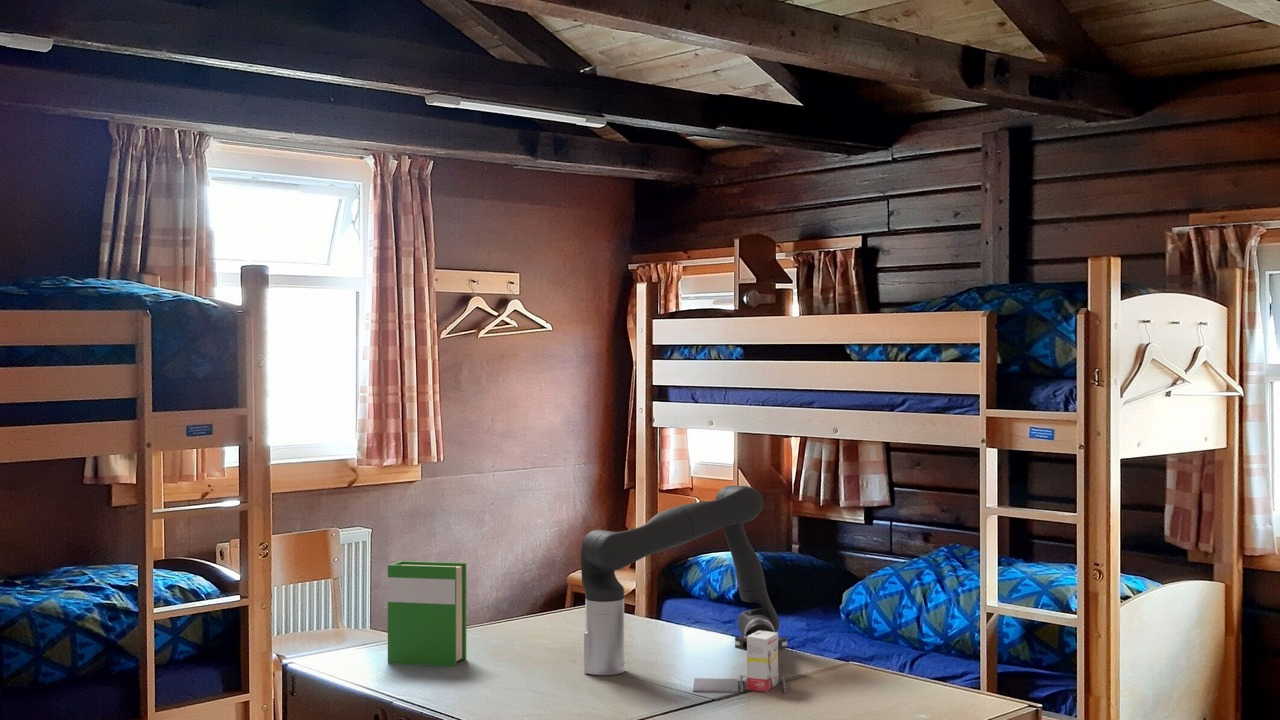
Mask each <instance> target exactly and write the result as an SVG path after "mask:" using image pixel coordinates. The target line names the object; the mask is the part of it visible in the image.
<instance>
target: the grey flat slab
mask: <svg viewBox="0 0 1280 720" xmlns="http://www.w3.org/2000/svg"><path fill="white" fill-rule="evenodd" d="M739 677H740V679H739V678H713V677H712V678H705V677H704V678H703V677H701V678H700V677H695V678H694V680H693V681H694V682H693V688H692V693H730V694H731V693H733V694H734V692H737V694H738V693H739V683H740V693H741V692H743V693H744V681H743V680H744V678H743V675H740V676H739ZM739 680H740V682H739ZM781 682H782V683H783V684H782V688H783V689H784V690H783V694H787V684H786V677H785V675H782V676H781Z"/></svg>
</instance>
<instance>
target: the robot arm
mask: <svg viewBox="0 0 1280 720" xmlns="http://www.w3.org/2000/svg"><path fill="white" fill-rule="evenodd" d="M763 504H764V501H763V496H762V495H761V493H760V492H759V491H758V490H757V489H755V488H753V487H751V486H749V485H748V486H747V485H726V486H723V487H722V488H721V489H719V490H718V491H717V494H716V496H715V499H712V500H707V501H698V502H691V503H685V504H681V505H678V506H674V507H671V508H668V509H666V510H663V511H660V512H658V513H657V514H655V515H654V516H652V517H651V518H650V519H649V520H648V521H647V522H646V523H644V524H643V525H641V526H638V527H636V528H632V529H627V530H624V531H609V530H605V529H603V530H602V529H595V530H592V531H590V532H588V533H587V534H586V535H585V536H584V538H583V541H582V542H581V548H580V571H581V584H582V587H583V590H584V594H585V595H584V597H585V598H584V599H585V609H584V610H585V615H584V616H585V617H584V618H585V619H584V620H585V625H584V626H585V631H584V633H583V643H584V644H583V650H584V651H583V656H584V657H583V660H584V661H583V665H584V667H583V668H584V669H583V670H584V671H583V673H584V674H589V675H594V676H595V675H596V676H613V675H619V674H622V673H624V672H625V664H626V663H625V588H624V586H623V585H622V584H621V582H620V581H619V580H618V578H617V577H616V573H615V571H619V570H621V569H624V568H626V567H628V566H630V565H631V564H633V563H635V562H637V561H639V560H641V559H643V558H646V557H648V556H651V555H654V554H658V553H660V552H663V551H666V550H669V549H672V548H674V547H678V546H681V545H684V544H687V543H689V542H692V541H694V540H697V539H699V538H701V537H703V536H706V535H709V534H711V533H713V532H715V531H717V530H720V529H722V530H723V533H724V537H725V539H726V542H727V545H728V549H729V551H730V554H731V558H732V562H733V565H734V570H735V576H736V581H737V587H738V593H739V596H740V600H741V601H742V602H746V603H755V604H756V603H757V604H759V605H760V606H761V607H760V608H755V609H748V610H743V611H742V612H740V613H739V615H738V618H737V626H738V630H739V632H740V634H741V636H735V637H734V649H738V650H742V651H745V652H747V636H749V635H750V634H752V633H755V632H756V631H769V632H776V633H778V631H779V628H780V619H779V616H778V613H777V612H776V609H775V608H774V606H773V604H772V601H771V600H770V597H769V594H768V590H767V589H768V588H767V587H766V580H765V575H764V570H763V567H762V564H761V561H760V558H759V556H758V555H757V553H756V552H755V549H754V548H753V546H752V544H751V543H750V542H751V541H749V538H748V535H747V533H746V530H745V525H744V523H748V522H749V523H750V522H751V521H753V520H755V519H756V518H757V517H758V516H760V513H761V512H762V510H763V506H764V505H763ZM786 649H788V638H787V637H785V636H784V637H778V652H779V651H784V650H786Z"/></svg>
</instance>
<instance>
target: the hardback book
mask: <svg viewBox="0 0 1280 720" xmlns="http://www.w3.org/2000/svg"><path fill="white" fill-rule="evenodd" d="M458 661H460V662H461V661H462V662H464V661H467V562H452V561H450V562H445V561H417V560H415V561H414V560H413V561H412V560H411V561H410V560H400V561H399V560H398V561H395V562H394V563H390V564H388V565H387V664H394V663H396V665H397V664H399V665H413V664H420V665H419V666H432V665H433V666H434V667H436V666H437V667H457V662H458Z"/></svg>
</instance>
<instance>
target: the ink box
mask: <svg viewBox="0 0 1280 720" xmlns="http://www.w3.org/2000/svg"><path fill="white" fill-rule="evenodd" d="M778 638H779V632H769V631H756V632H755V633H752V634H750V635H749V636H747V651H746V690H747V691H754V692H755V691H757V692H764V693H768V692H769V691H770V690H771V688H772V689H773V688H774V687H776V686H777V685H779V651H778Z"/></svg>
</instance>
